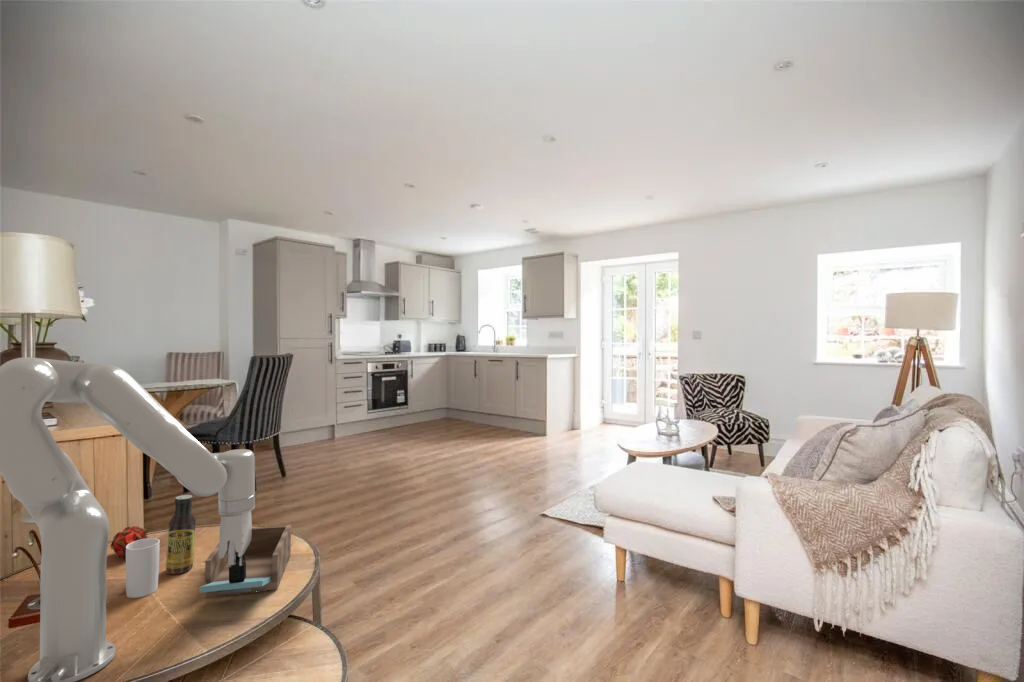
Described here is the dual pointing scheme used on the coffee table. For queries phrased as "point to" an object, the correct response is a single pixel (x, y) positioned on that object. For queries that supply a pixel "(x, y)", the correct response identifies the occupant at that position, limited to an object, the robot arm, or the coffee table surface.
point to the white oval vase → (142, 567)
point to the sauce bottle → (181, 537)
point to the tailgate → (235, 585)
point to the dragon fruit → (127, 539)
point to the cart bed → (255, 559)
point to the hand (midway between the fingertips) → (237, 580)
